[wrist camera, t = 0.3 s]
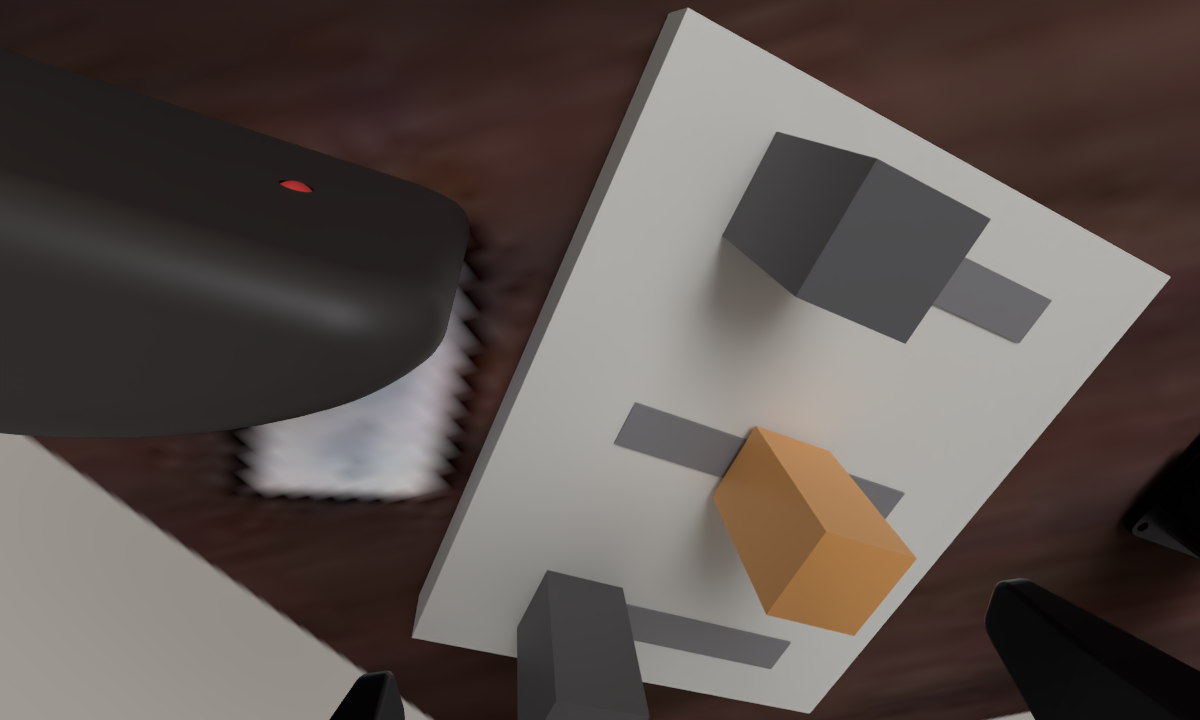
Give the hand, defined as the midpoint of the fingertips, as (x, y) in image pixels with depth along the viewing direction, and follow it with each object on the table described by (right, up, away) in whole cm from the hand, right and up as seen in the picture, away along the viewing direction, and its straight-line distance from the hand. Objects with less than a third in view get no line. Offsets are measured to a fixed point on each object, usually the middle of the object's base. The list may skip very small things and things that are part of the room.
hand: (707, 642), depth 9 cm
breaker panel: (+4, +1, +14) cm, 14 cm away
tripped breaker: (+4, 0, +12) cm, 13 cm away
